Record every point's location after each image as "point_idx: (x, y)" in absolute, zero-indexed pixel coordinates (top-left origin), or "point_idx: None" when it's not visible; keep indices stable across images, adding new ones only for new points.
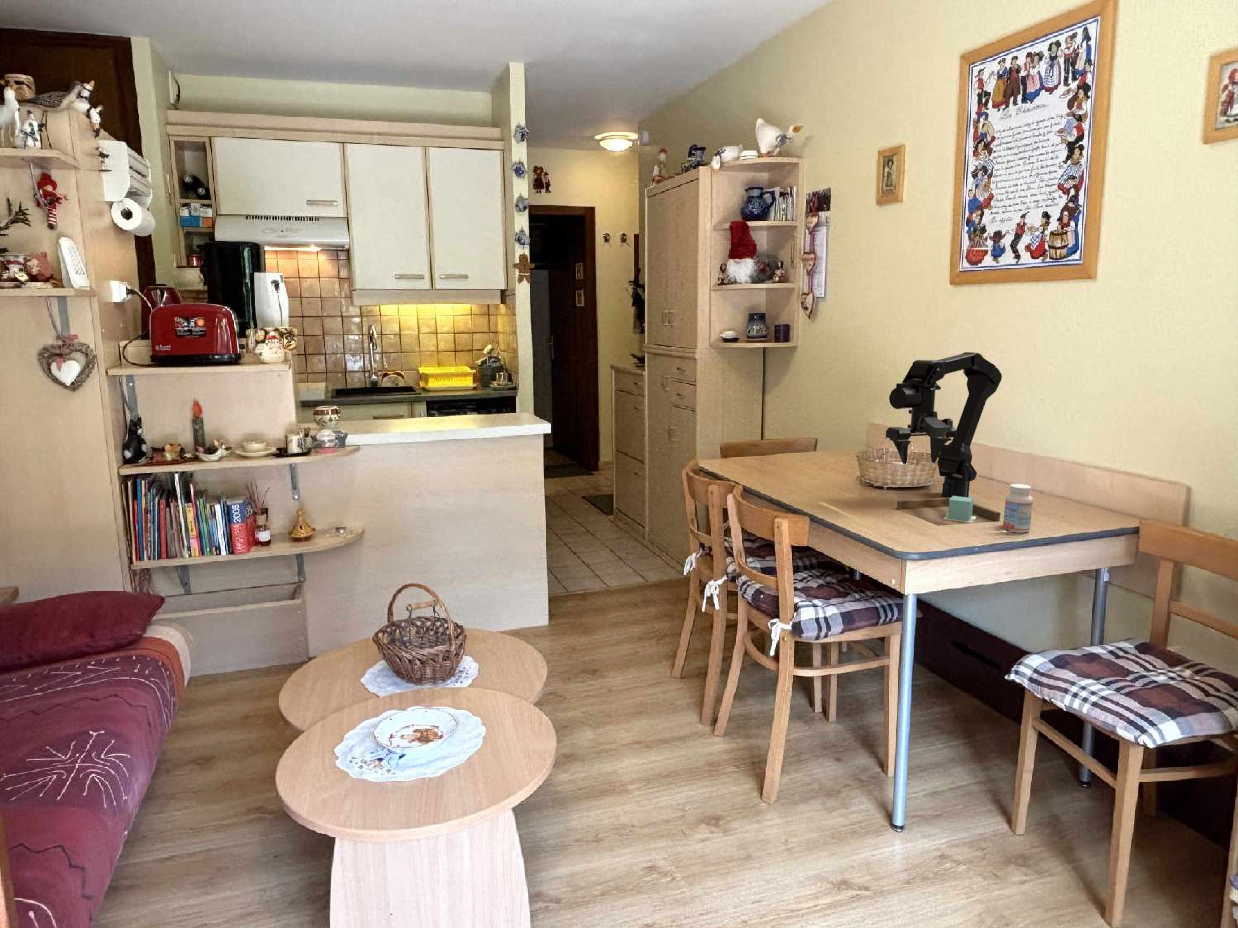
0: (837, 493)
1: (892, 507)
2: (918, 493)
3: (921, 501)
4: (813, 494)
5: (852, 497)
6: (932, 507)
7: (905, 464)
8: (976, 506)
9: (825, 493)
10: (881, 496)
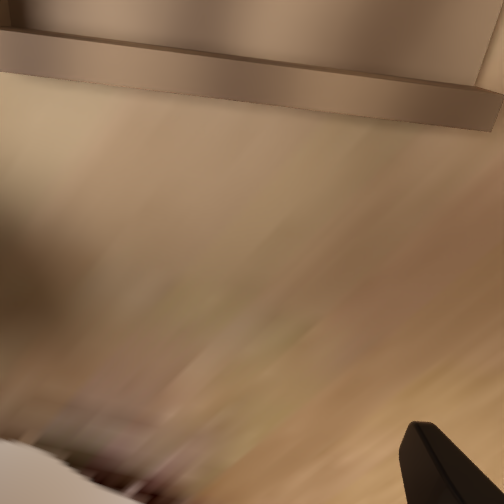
0: (392, 483)
1: (382, 212)
2: (28, 395)
3: (302, 68)
4: None
5: (393, 423)
6: (199, 50)
7: (417, 422)
8: None
9: None
10: (249, 402)
